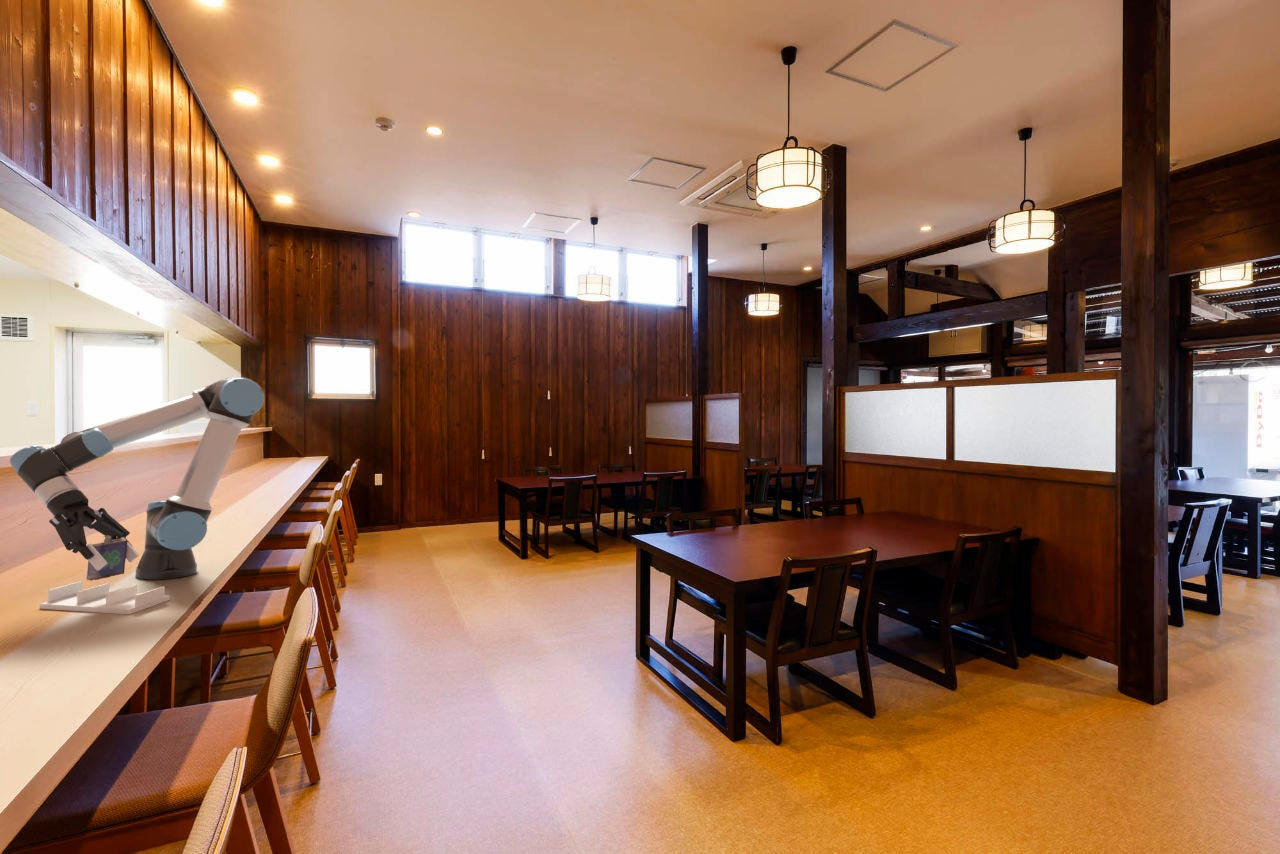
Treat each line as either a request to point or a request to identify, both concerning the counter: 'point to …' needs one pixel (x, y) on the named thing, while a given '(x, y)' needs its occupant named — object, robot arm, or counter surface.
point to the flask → (109, 558)
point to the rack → (102, 599)
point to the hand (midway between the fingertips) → (119, 562)
